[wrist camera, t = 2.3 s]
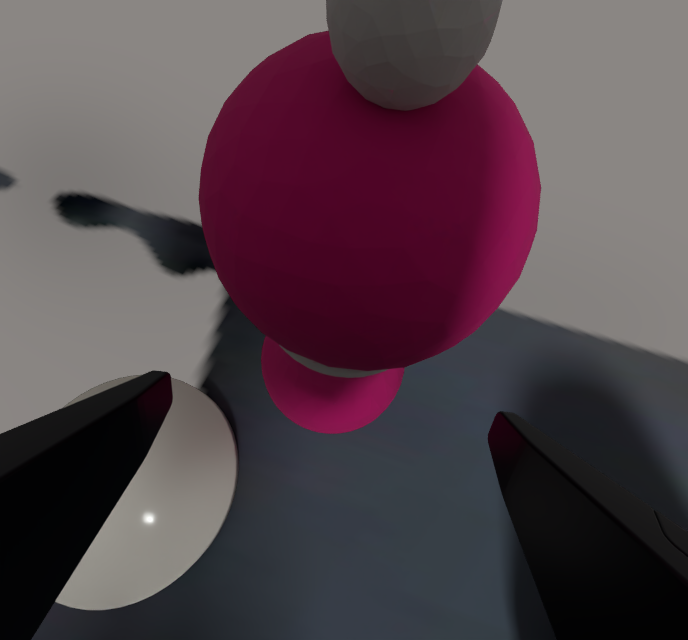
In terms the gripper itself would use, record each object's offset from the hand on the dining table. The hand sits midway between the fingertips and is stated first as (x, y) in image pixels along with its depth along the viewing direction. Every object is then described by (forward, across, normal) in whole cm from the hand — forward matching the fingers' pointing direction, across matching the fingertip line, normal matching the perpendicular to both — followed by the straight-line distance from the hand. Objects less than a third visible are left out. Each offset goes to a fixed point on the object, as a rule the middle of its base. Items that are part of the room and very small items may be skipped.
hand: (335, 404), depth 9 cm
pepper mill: (+11, 0, +6) cm, 12 cm away
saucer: (+6, +10, +11) cm, 16 cm away
